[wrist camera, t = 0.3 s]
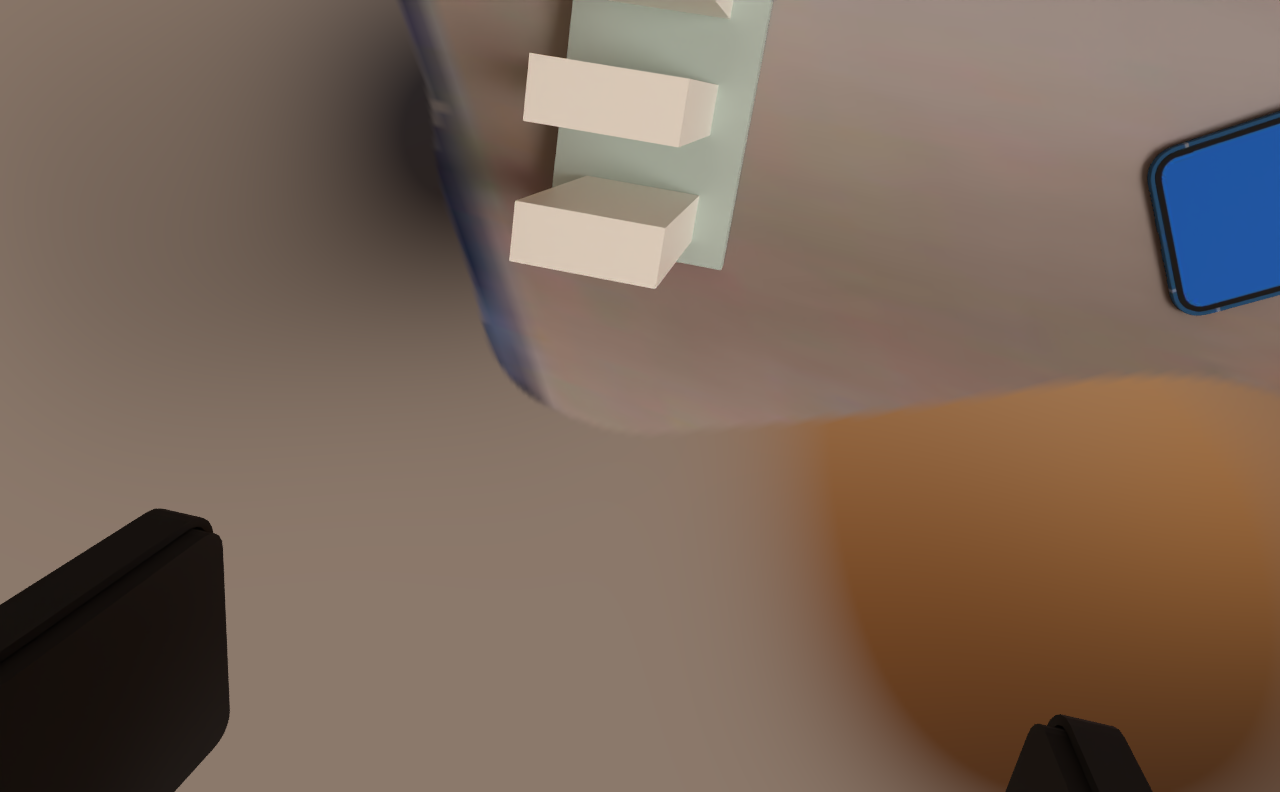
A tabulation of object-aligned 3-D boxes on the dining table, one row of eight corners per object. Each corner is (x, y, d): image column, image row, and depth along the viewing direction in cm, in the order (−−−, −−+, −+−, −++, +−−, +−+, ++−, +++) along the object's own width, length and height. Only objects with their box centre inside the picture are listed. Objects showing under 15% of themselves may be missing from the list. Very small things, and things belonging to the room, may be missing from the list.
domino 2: (587, 175, 36) (515, 200, 27) (699, 195, 36) (665, 228, 27) (581, 221, 37) (509, 260, 28) (691, 241, 37) (655, 289, 27)
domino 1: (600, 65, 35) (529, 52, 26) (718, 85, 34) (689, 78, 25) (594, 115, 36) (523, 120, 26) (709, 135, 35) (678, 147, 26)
